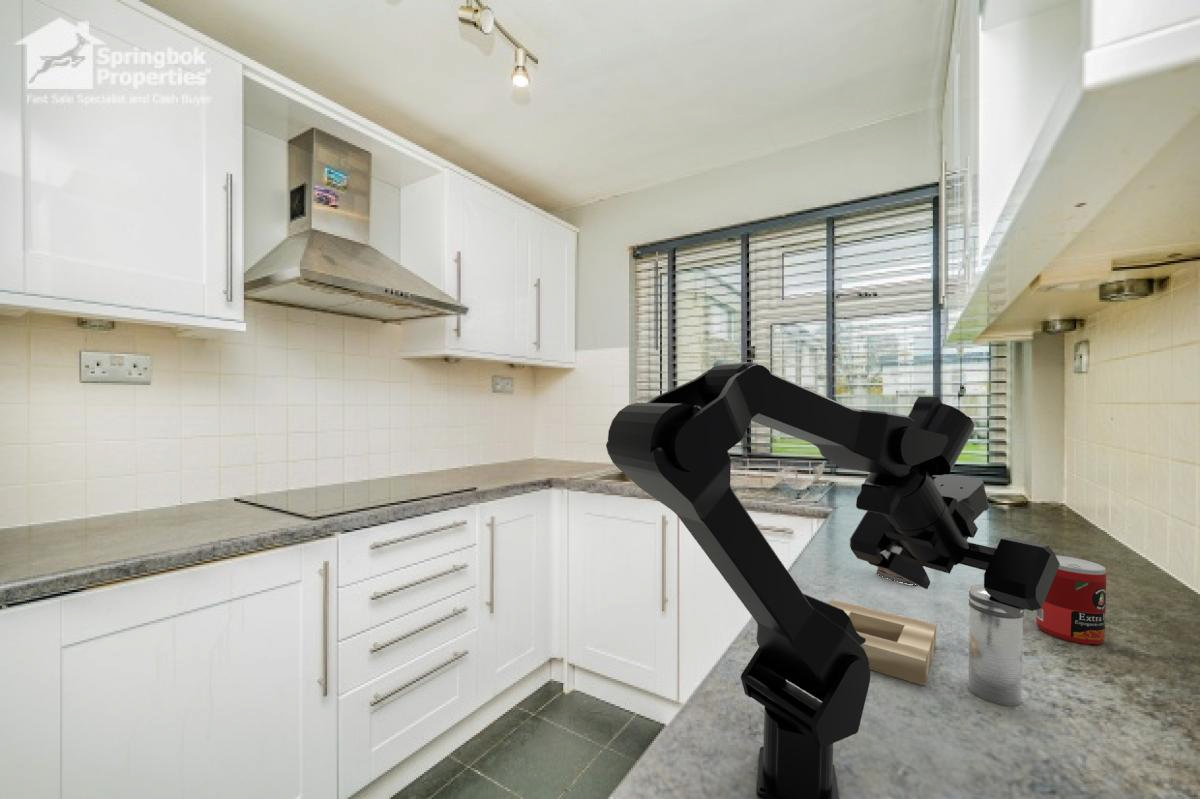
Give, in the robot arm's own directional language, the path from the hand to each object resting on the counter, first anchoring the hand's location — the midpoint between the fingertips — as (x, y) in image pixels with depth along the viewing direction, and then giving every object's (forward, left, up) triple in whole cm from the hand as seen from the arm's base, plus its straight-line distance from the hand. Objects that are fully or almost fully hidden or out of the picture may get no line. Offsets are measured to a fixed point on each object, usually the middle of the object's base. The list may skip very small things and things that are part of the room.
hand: (969, 598), depth 59 cm
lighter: (+47, -2, -12) cm, 49 cm away
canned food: (+29, -22, -12) cm, 39 cm away
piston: (+4, -4, -12) cm, 13 cm away
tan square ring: (+12, +8, -12) cm, 19 cm away
